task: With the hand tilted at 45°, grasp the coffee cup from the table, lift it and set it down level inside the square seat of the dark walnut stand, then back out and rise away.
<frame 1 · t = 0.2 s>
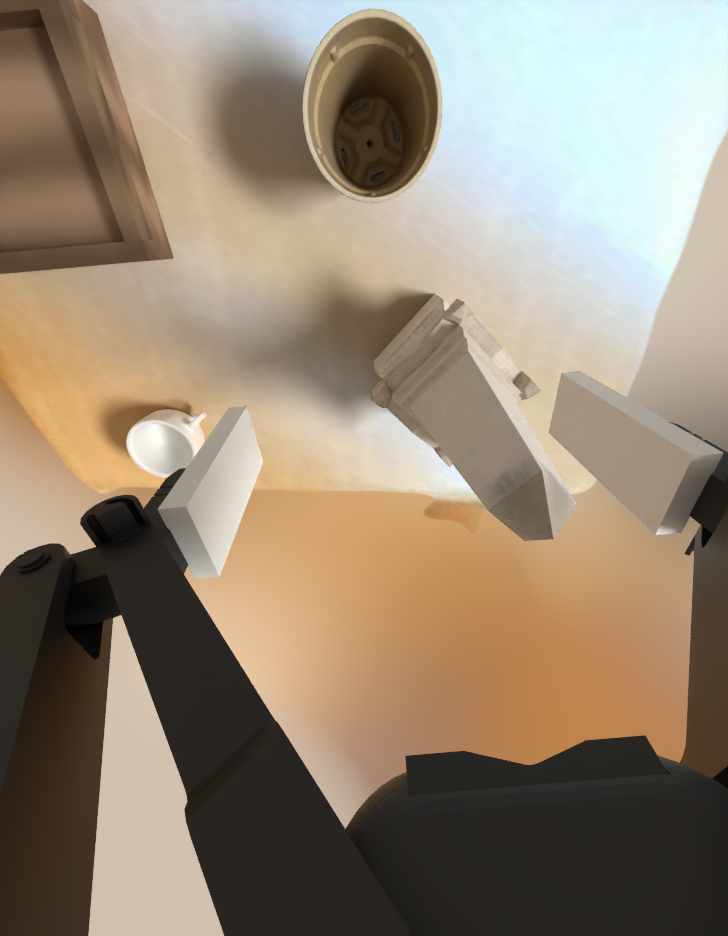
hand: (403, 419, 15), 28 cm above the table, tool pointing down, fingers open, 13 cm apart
flower pot: (368, 146, 31), on the table
miniature monument: (430, 357, 41), on the table
teacup: (187, 424, 45), on the table
walnut stand: (51, 161, 31), on the table
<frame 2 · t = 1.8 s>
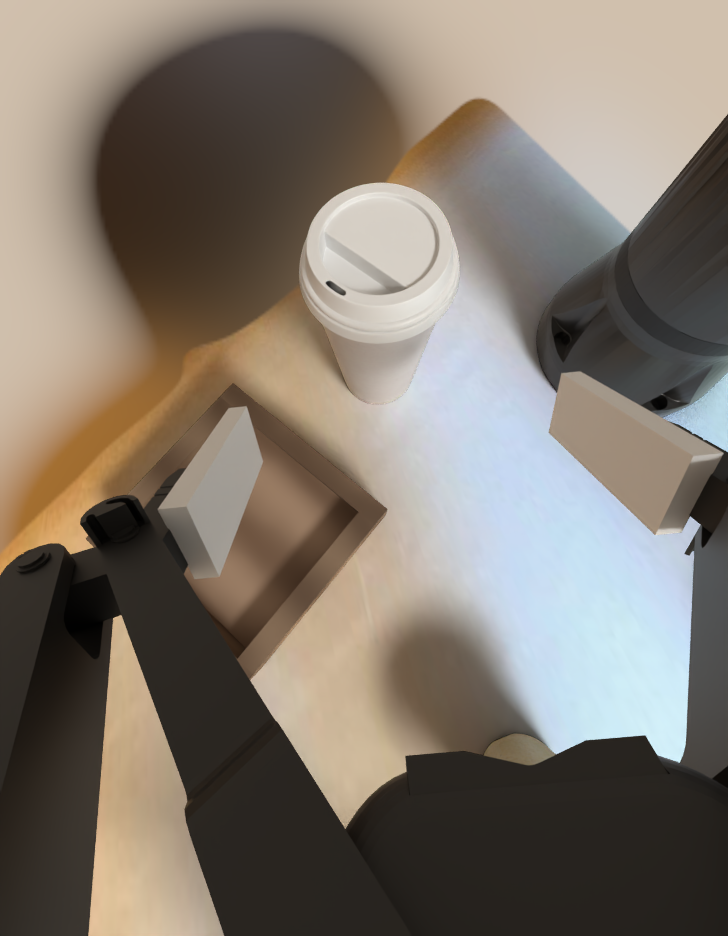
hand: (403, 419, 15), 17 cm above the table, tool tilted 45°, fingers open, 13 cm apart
flower pot: (517, 776, 27), on the table
walnut stand: (257, 526, 31), on the table
coffee cup: (378, 373, 34), on the table
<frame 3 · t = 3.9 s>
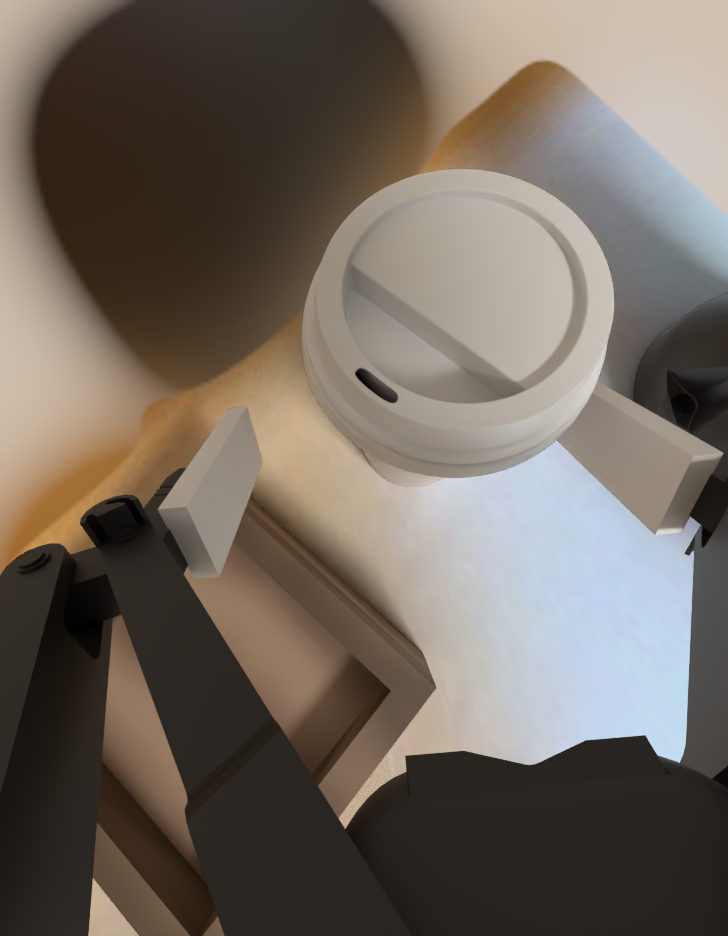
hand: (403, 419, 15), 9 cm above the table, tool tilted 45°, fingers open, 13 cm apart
walnut stand: (239, 667, 22), on the table
coffee cup: (410, 441, 24), on the table
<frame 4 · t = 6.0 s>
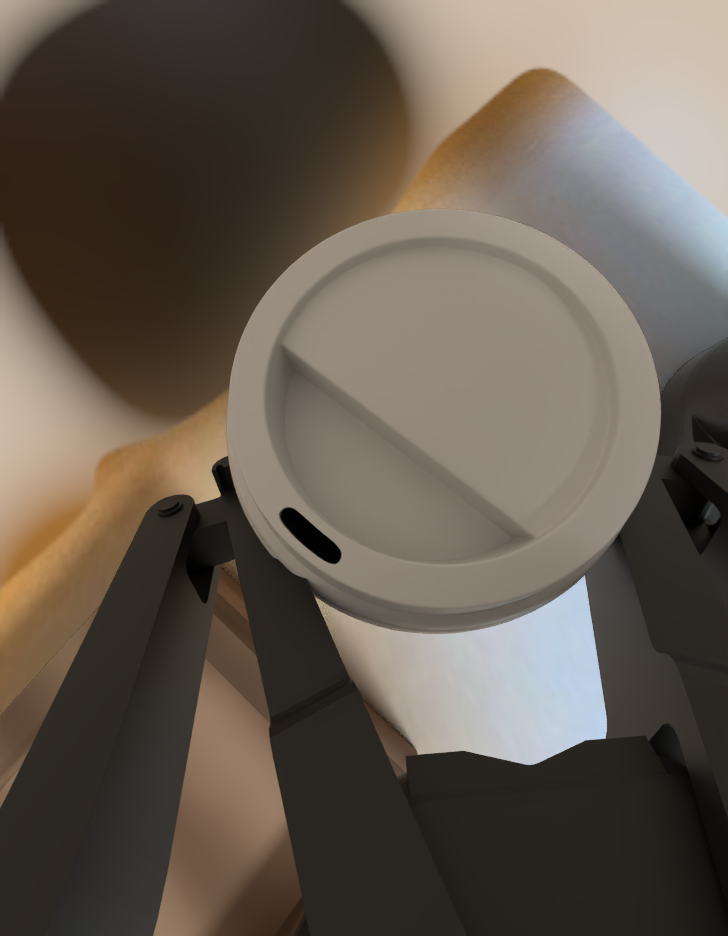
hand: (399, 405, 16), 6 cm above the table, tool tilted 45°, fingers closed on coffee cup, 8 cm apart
walnut stand: (202, 768, 19), on the table
coffee cup: (400, 494, 21), on the table, touching gripper
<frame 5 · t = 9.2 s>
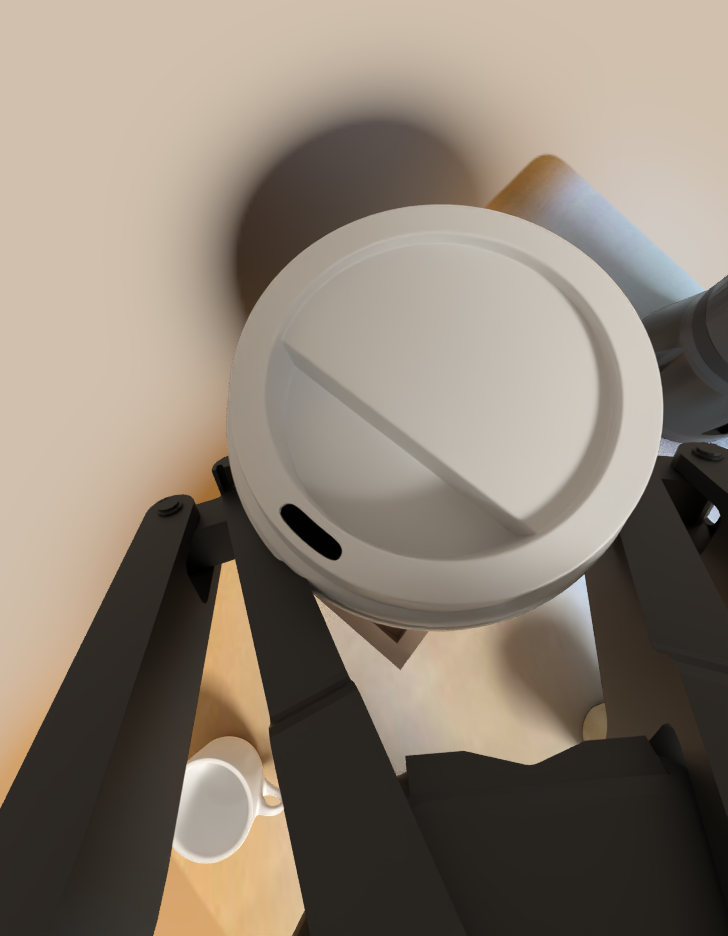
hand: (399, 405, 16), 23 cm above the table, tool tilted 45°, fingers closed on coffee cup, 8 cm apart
flower pot: (613, 734, 33), on the table
teacup: (245, 768, 35), on the table
walnut stand: (384, 537, 38), on the table
coffee cup: (400, 493, 21), point 17 cm above the table, touching gripper
when the fingers open (10 cm above the table, at t = 12.4 s): coffee cup drops 1 cm, resting on walnut stand.
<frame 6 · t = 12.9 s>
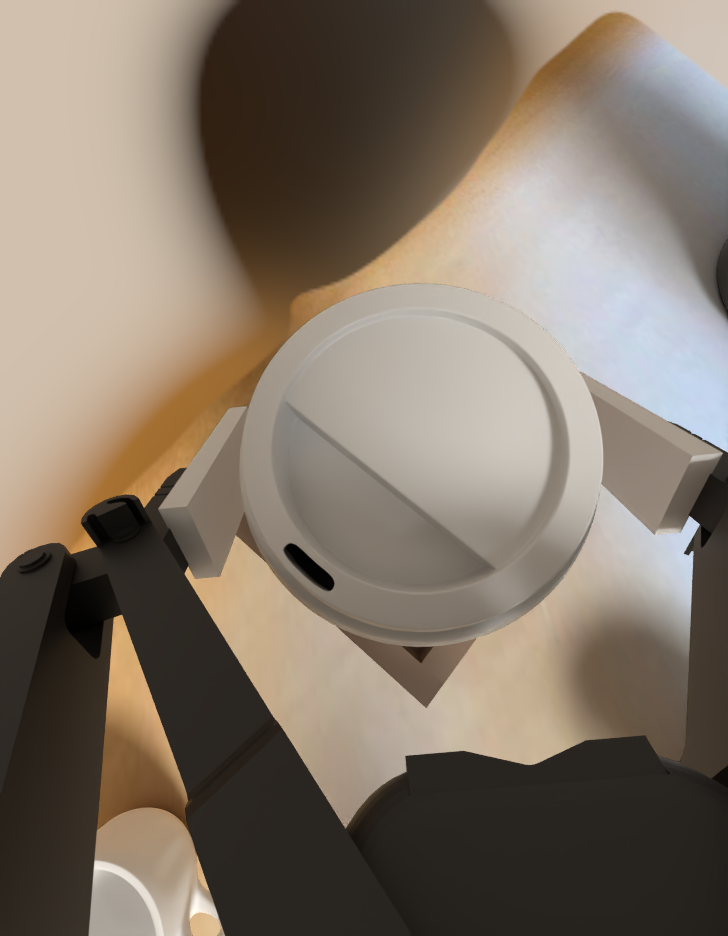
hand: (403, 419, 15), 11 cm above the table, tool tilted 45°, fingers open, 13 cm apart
teacup: (172, 857, 22), on the table
walnut stand: (396, 502, 26), on the table
coffee cup: (401, 506, 23), point 3 cm above the table, touching walnut stand
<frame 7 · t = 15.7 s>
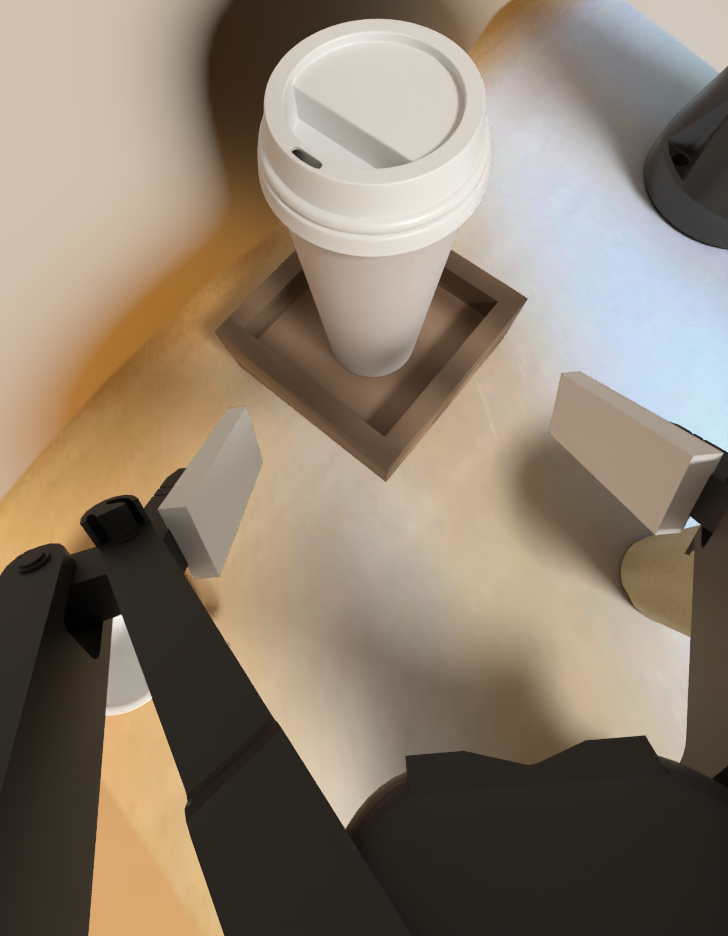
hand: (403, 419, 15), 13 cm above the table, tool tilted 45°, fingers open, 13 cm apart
flower pot: (659, 578, 26), on the table
teacup: (181, 626, 26), on the table
walnut stand: (371, 352, 30), on the table
coffee cup: (372, 340, 27), point 3 cm above the table, touching walnut stand
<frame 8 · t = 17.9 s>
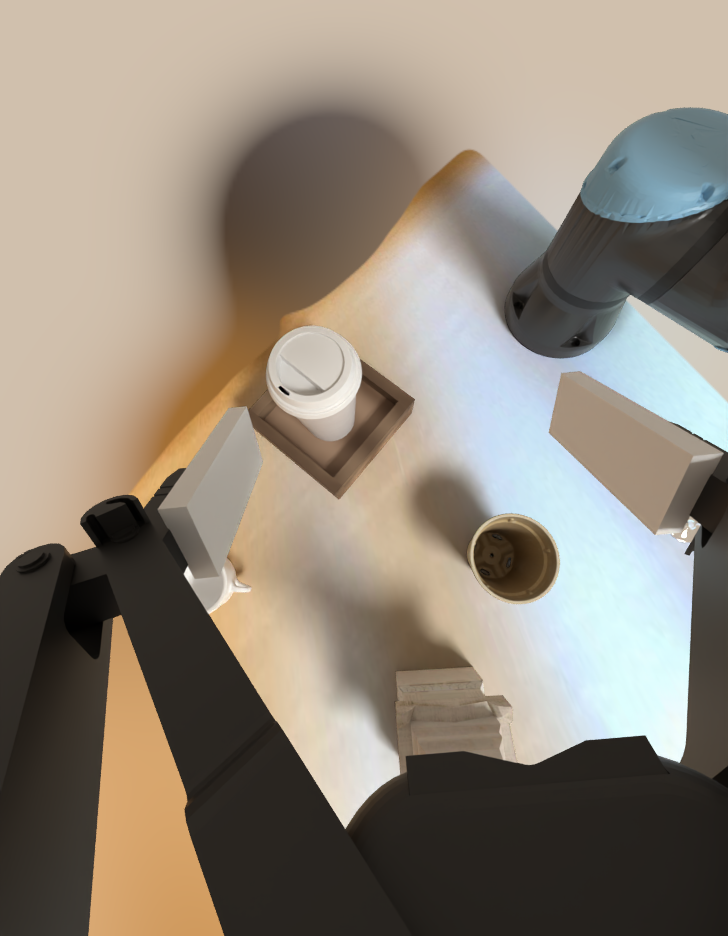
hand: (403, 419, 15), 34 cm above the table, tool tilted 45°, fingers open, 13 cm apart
flower pot: (489, 554, 46), on the table
miniature monument: (437, 711, 43), on the table
teacup: (223, 580, 47), on the table
walnut stand: (332, 421, 51), on the table
coffee cup: (331, 418, 48), point 3 cm above the table, touching walnut stand
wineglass: (682, 525, 46), on the table
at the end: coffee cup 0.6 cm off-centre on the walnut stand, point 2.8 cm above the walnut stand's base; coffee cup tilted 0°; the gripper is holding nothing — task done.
